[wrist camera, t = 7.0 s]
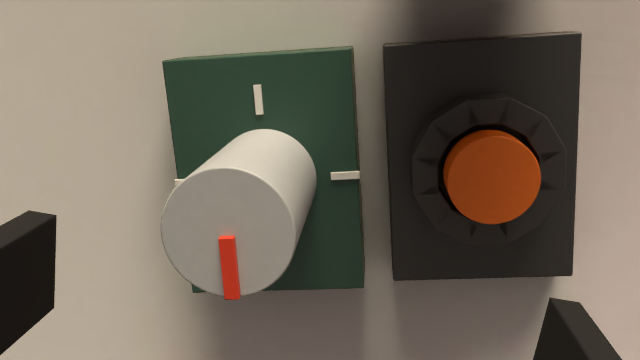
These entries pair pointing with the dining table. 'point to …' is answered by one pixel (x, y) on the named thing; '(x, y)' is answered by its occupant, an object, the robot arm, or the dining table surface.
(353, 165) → the dial console
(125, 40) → the dining table surface
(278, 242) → the knob
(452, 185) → the power button
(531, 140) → the switch block
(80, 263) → the dining table surface
